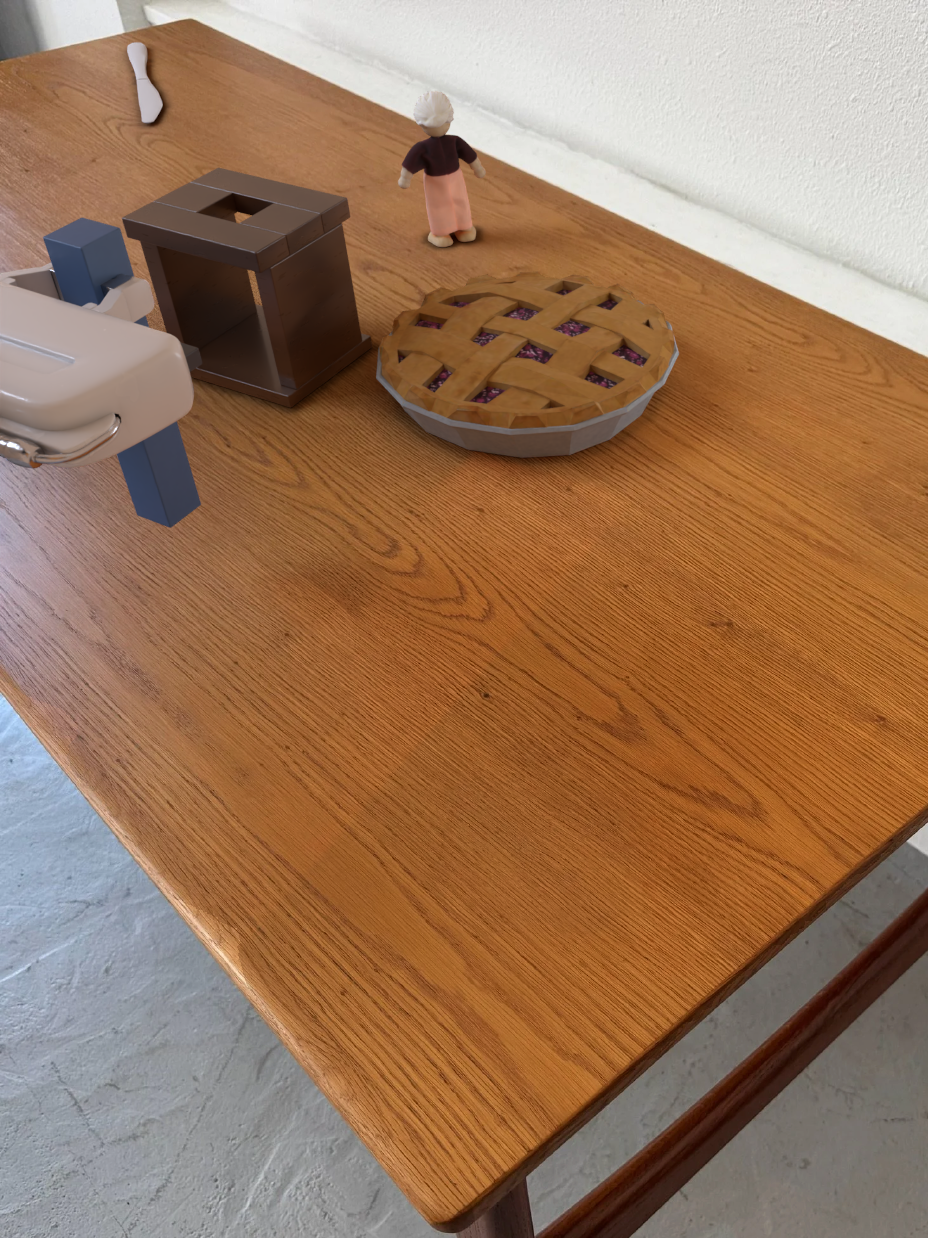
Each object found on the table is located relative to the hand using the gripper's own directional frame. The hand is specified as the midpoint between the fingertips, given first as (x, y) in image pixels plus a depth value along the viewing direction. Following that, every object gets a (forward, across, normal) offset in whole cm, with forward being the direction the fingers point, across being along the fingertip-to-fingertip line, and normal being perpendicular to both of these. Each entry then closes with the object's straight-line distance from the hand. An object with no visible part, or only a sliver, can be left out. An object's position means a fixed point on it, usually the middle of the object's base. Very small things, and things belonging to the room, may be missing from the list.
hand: (111, 280), depth 63 cm
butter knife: (+64, +66, +20) cm, 94 cm away
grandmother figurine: (+46, +13, +20) cm, 52 cm away
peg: (-1, 0, +14) cm, 14 cm away
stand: (+22, +13, +20) cm, 33 cm away
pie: (+28, -7, +20) cm, 35 cm away
